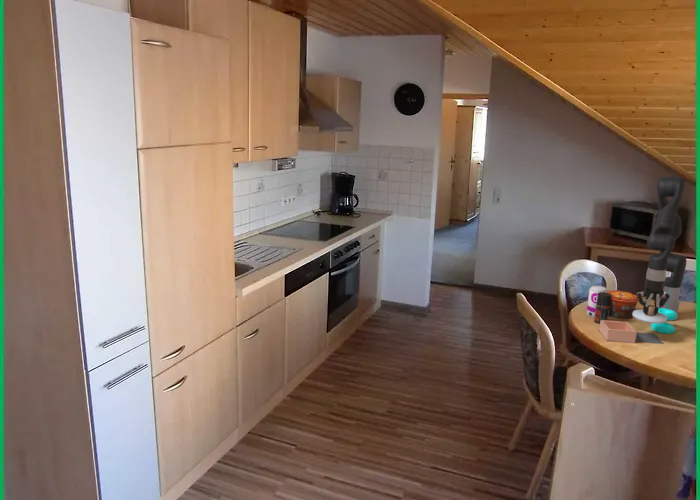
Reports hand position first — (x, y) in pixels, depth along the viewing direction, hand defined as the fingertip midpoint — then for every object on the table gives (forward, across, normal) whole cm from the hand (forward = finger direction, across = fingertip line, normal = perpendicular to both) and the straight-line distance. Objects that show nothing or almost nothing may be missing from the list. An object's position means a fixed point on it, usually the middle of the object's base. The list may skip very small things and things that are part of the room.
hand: (649, 314), depth 249 cm
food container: (+13, +2, -31) cm, 33 cm away
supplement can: (+12, +15, -26) cm, 33 cm away
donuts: (+13, -12, -12) cm, 21 cm away
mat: (+12, +1, 0) cm, 12 cm away
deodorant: (+12, +16, -16) cm, 25 cm away
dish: (+12, +14, +2) cm, 18 cm away
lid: (+2, 0, 0) cm, 2 cm away
